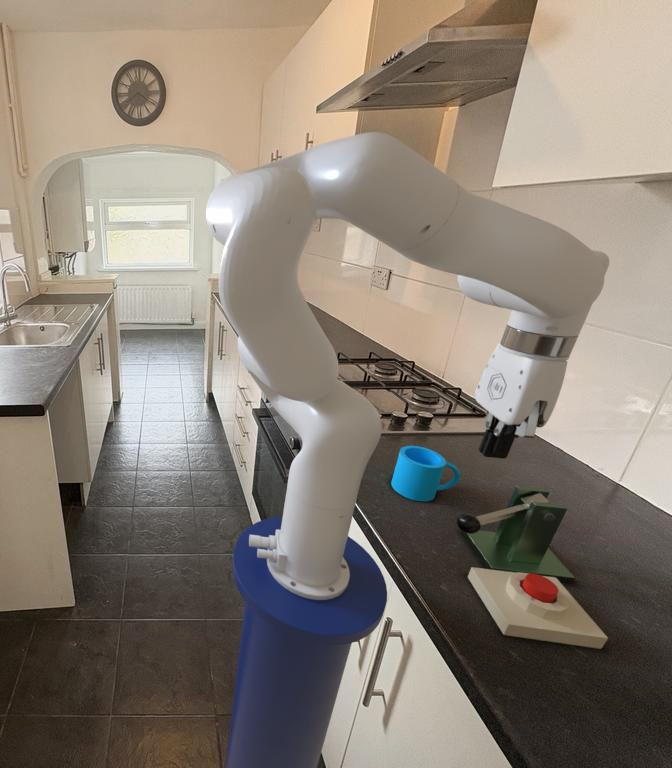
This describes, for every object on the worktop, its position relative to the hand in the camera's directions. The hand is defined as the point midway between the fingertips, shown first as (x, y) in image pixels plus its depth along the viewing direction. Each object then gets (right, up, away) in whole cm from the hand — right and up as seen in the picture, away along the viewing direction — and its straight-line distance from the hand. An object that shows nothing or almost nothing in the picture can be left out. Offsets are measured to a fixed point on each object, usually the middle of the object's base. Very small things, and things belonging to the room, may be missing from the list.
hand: (491, 454), depth 64 cm
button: (+3, -19, -4) cm, 20 cm away
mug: (+4, -12, +23) cm, 26 cm away
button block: (+3, -23, -3) cm, 23 cm away
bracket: (+9, -19, +7) cm, 22 cm away
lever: (+5, -12, +4) cm, 14 cm away
